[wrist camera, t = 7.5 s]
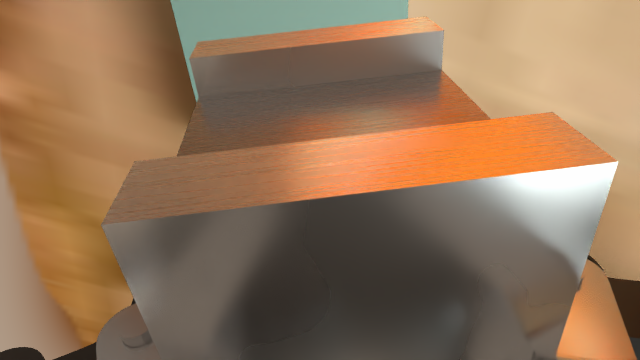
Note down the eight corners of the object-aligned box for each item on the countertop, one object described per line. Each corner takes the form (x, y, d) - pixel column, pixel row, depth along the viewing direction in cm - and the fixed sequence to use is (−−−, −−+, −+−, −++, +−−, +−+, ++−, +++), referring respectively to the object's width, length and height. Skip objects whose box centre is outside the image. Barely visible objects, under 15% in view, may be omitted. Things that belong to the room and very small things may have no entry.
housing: (197, 41, 10) (100, 224, 4) (426, 16, 10) (618, 161, 4) (257, 298, 14) (247, 552, 8) (414, 278, 14) (503, 515, 9)
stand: (393, 115, 28) (405, 137, 25) (216, 137, 27) (211, 161, 25) (393, -91, 22) (409, -90, 19) (168, -67, 21) (154, -62, 19)
